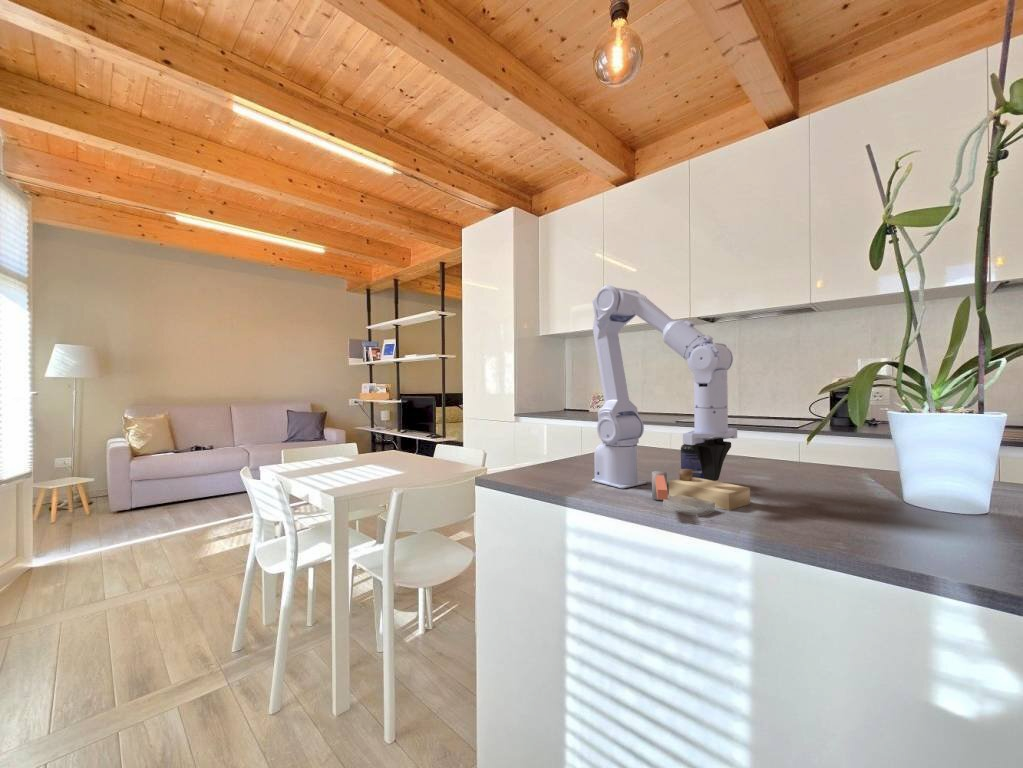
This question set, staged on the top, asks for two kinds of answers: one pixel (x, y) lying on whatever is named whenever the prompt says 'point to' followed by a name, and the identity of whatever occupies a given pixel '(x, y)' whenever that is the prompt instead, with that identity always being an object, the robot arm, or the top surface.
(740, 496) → the body
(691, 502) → the grey slanted block
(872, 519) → the top surface
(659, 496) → the hammer
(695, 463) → the pill bottle
